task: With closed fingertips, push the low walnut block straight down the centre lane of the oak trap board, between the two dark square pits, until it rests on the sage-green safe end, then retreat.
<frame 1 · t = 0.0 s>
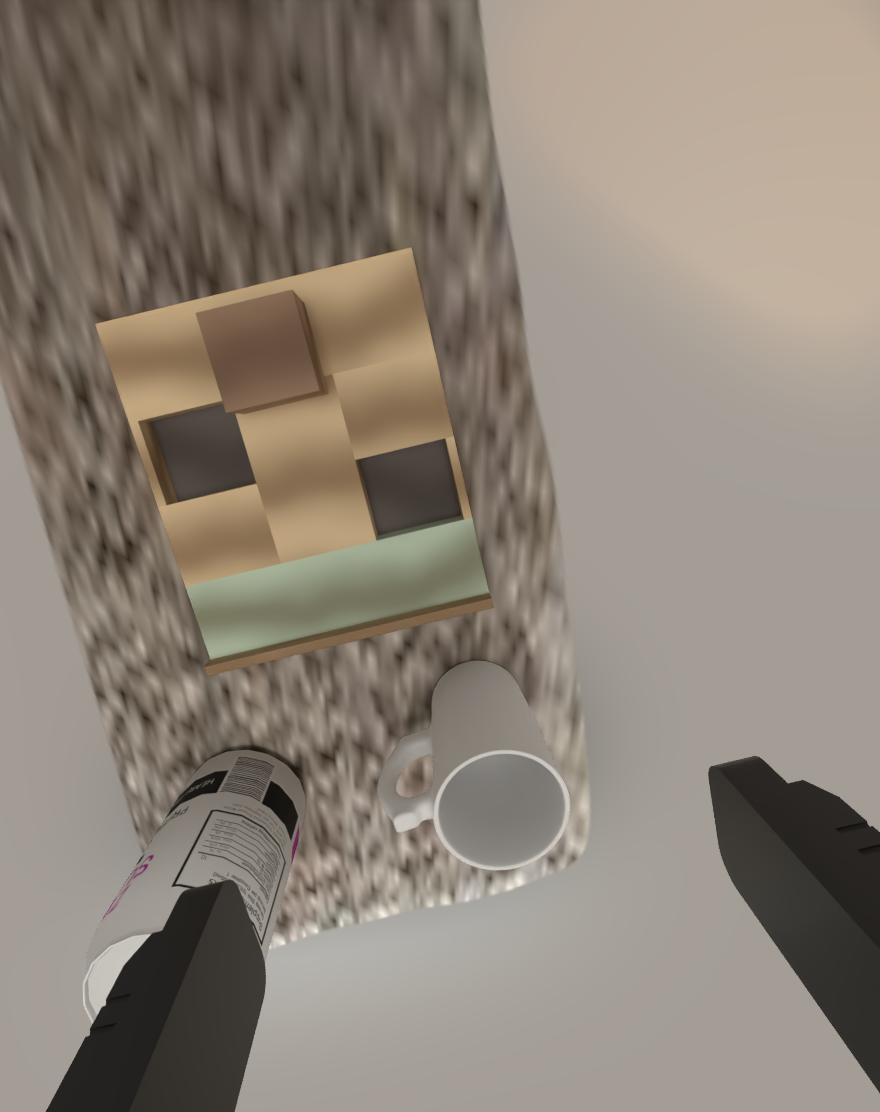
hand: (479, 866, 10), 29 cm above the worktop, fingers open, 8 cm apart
block: (274, 359, 34), point 2 cm above the worktop, touching board
supplement can: (249, 795, 42), on the worktop
mug: (453, 706, 41), on the worktop
board: (311, 469, 37), on the worktop
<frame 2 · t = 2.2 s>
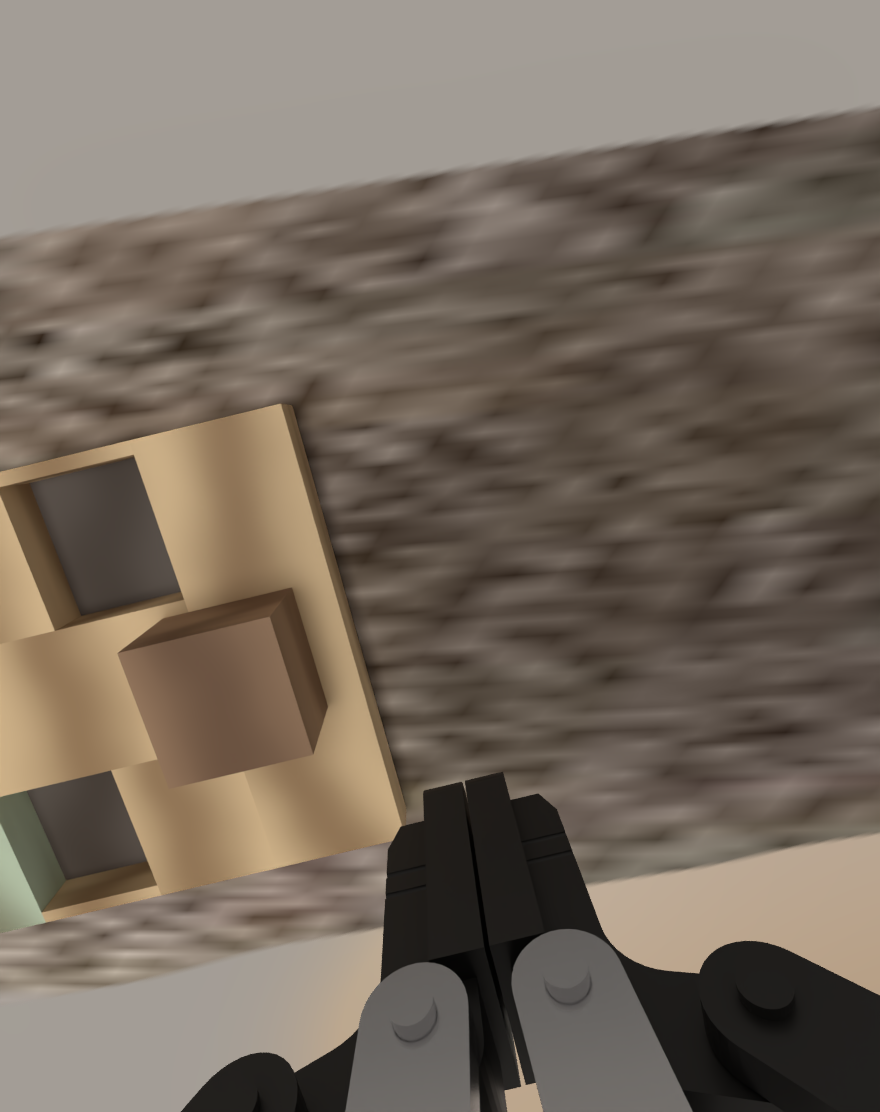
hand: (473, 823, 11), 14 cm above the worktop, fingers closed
block: (247, 663, 23), point 2 cm above the worktop, touching board
board: (109, 680, 25), on the worktop
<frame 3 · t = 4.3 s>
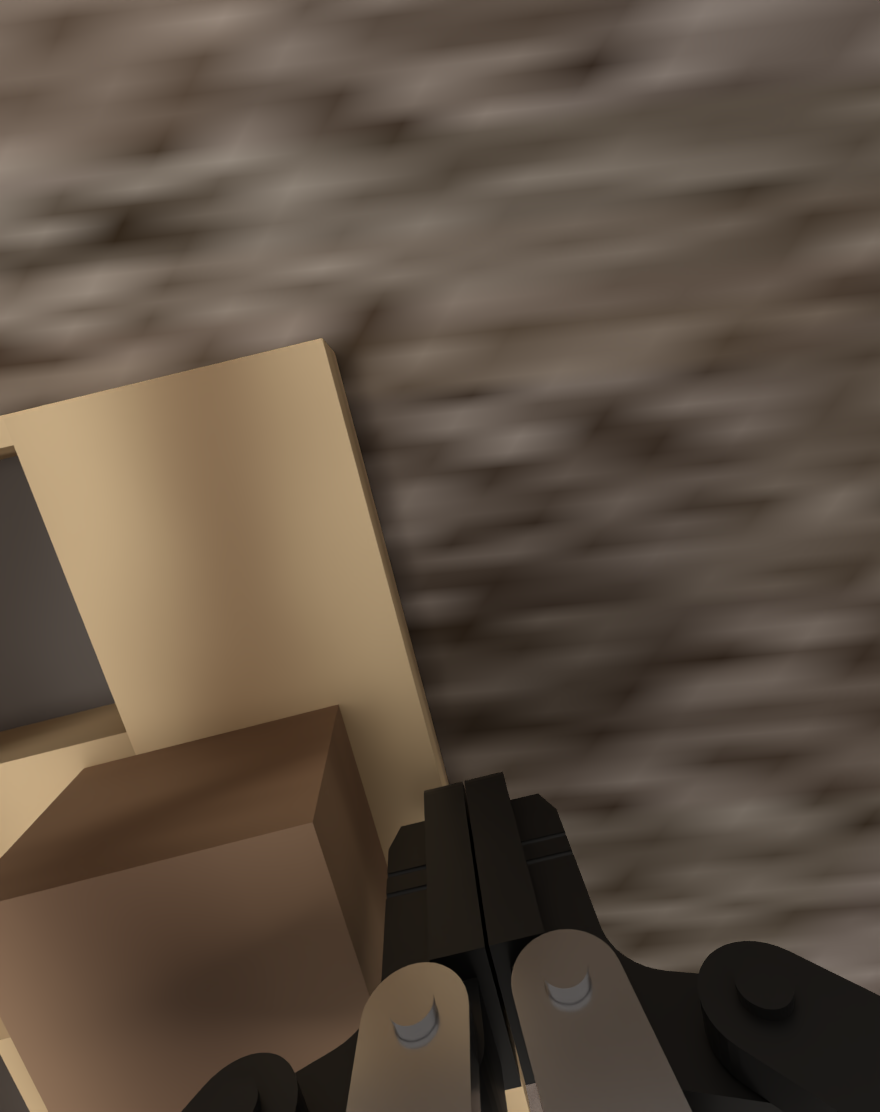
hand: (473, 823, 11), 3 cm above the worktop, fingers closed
block: (250, 845, 12), point 2 cm above the worktop, touching board, gripper
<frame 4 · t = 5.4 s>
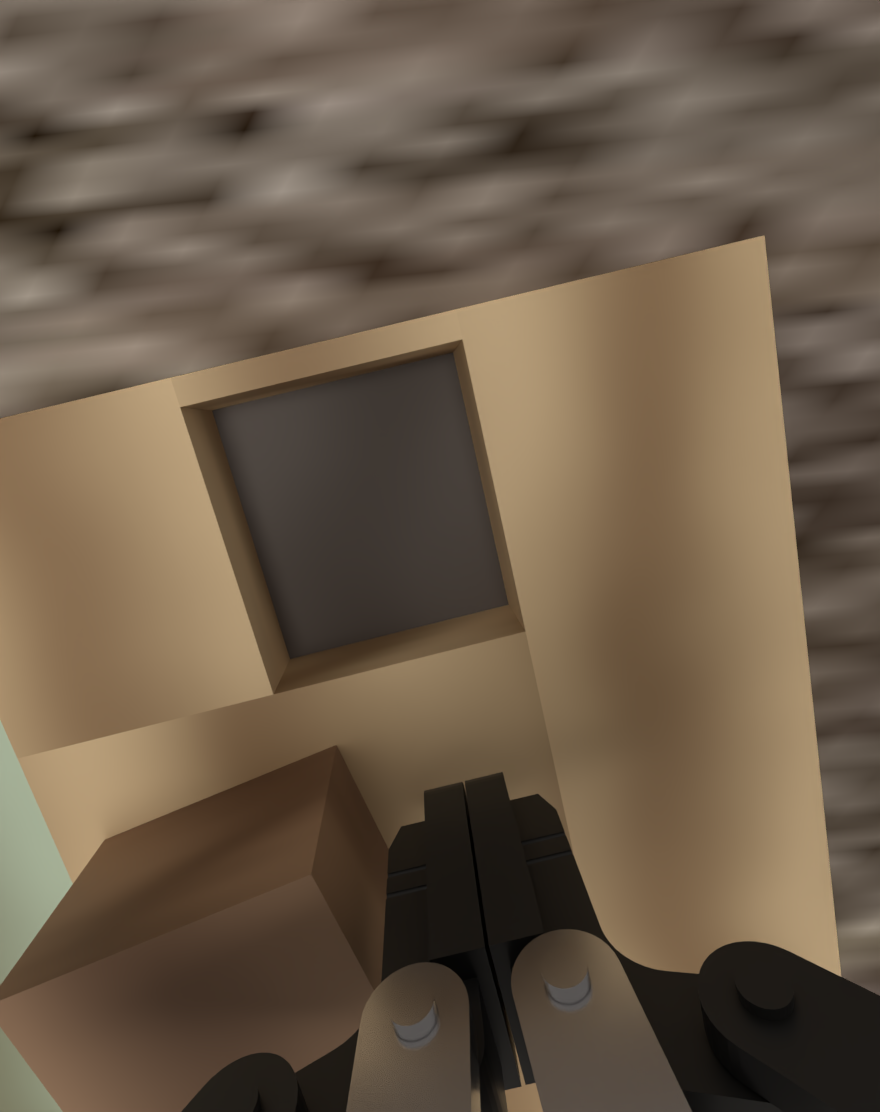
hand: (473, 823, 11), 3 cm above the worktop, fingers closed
block: (275, 890, 12), point 2 cm above the worktop, touching board, gripper
board: (327, 771, 14), on the worktop
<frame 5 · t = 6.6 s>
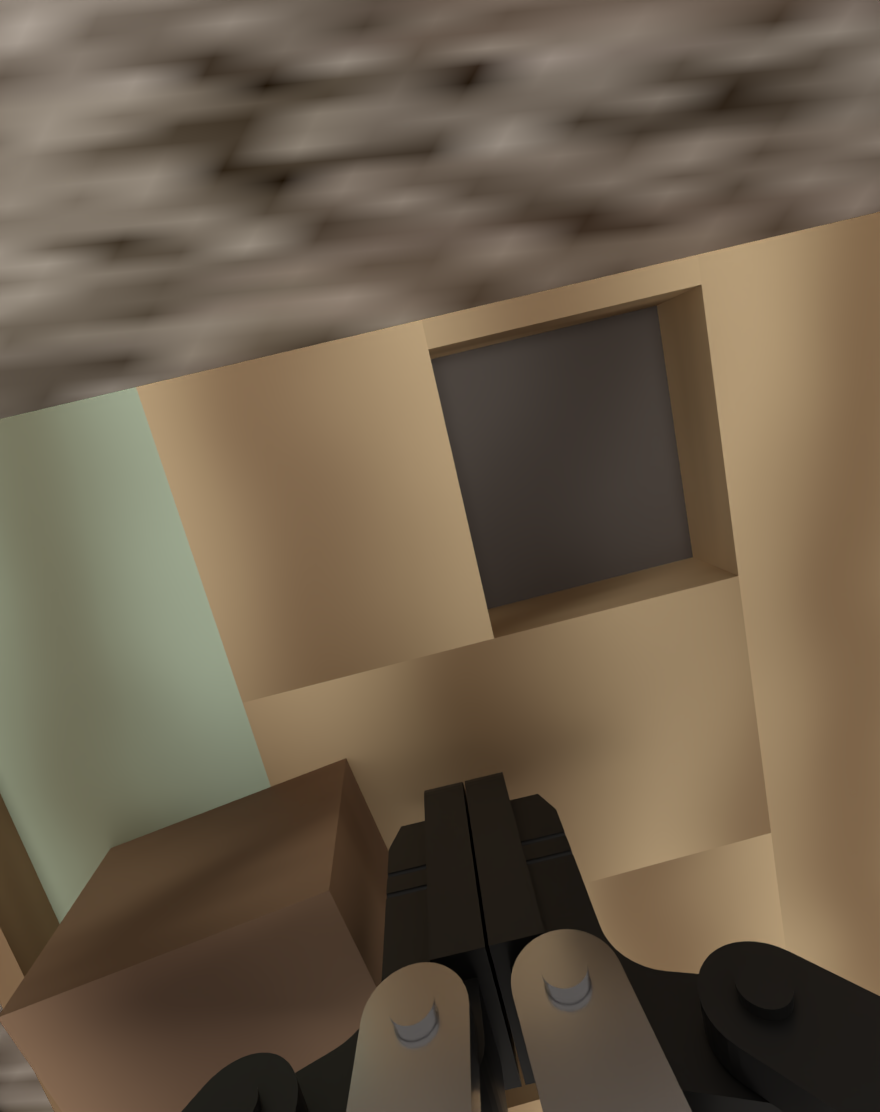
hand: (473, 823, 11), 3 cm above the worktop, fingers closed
block: (279, 901, 12), point 2 cm above the worktop, touching board, gripper
board: (505, 725, 14), on the worktop
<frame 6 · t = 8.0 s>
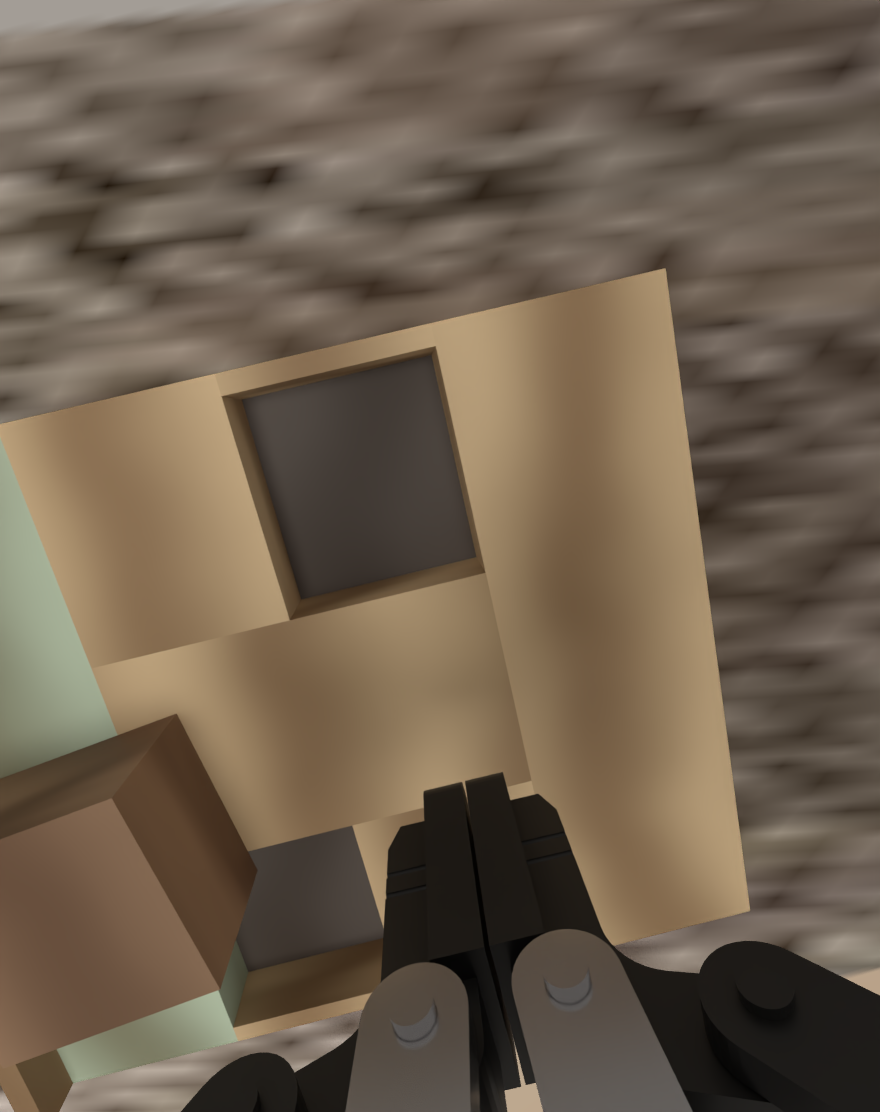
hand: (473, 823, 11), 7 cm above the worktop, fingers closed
block: (129, 827, 16), point 2 cm above the worktop, touching board
board: (330, 693, 17), on the worktop
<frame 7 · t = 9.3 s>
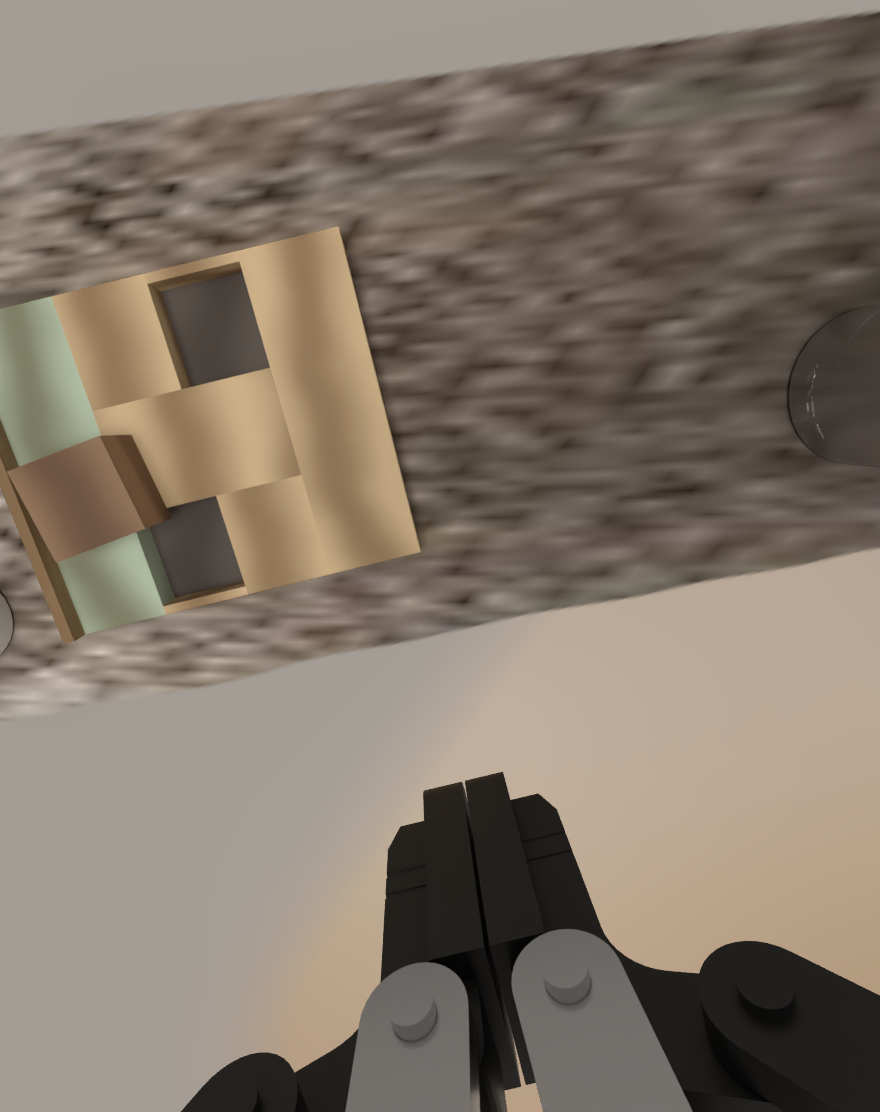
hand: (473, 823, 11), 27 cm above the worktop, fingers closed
block: (110, 492, 33), point 2 cm above the worktop, touching board
board: (210, 442, 35), on the worktop
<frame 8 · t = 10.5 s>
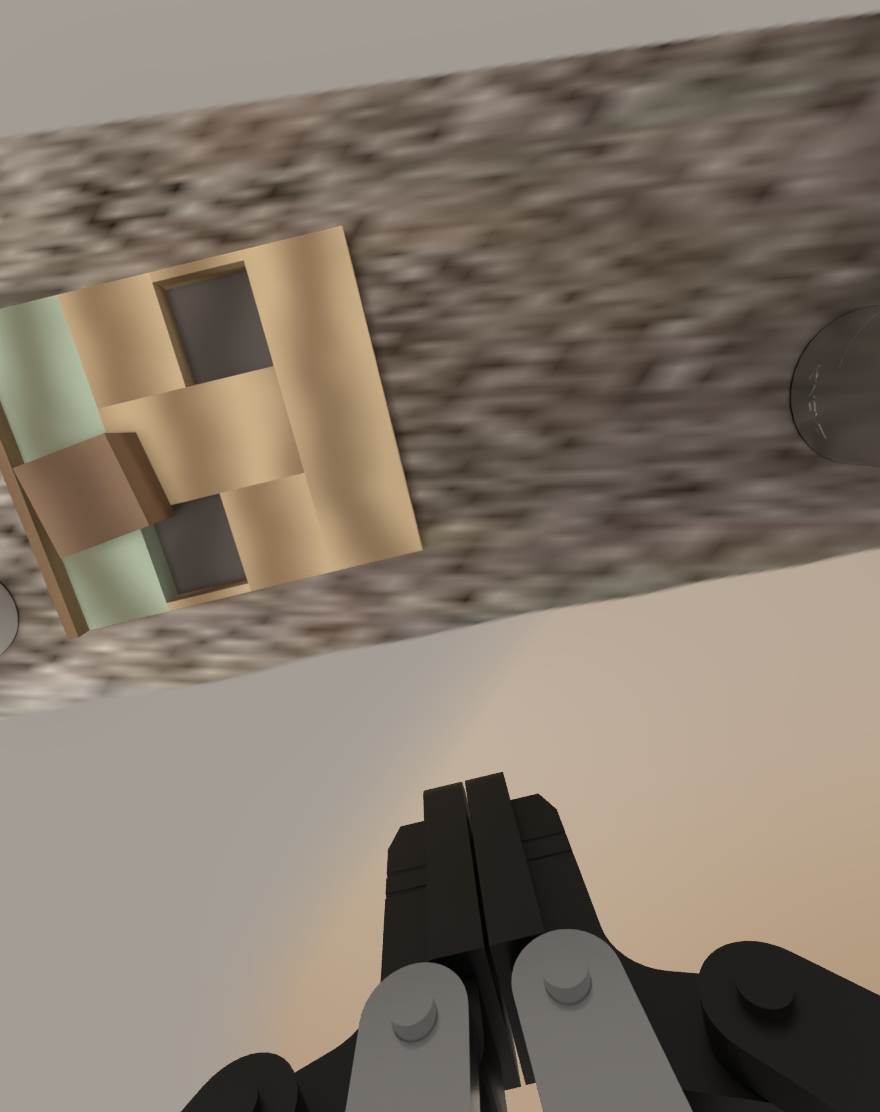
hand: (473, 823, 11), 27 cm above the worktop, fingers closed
block: (115, 490, 34), point 2 cm above the worktop, touching board
board: (214, 440, 35), on the worktop
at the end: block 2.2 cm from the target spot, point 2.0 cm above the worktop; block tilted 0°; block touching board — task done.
